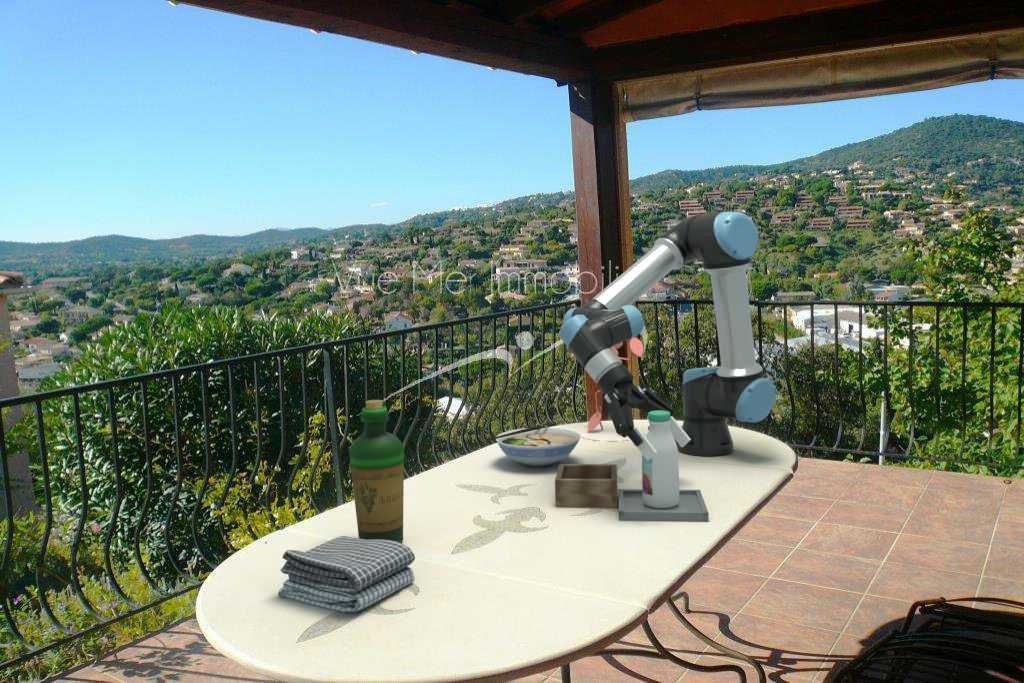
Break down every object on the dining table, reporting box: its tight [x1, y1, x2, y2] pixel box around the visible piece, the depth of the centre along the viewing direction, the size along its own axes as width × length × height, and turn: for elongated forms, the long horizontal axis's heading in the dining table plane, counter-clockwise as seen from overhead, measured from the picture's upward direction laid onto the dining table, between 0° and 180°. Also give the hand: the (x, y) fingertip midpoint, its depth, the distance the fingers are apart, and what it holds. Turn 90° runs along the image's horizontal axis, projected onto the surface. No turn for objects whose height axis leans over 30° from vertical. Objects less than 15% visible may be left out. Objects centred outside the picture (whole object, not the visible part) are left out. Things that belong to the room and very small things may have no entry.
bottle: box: [348, 399, 405, 543], centre depth 151 cm, size 11×11×28 cm
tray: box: [618, 488, 709, 522], centre depth 168 cm, size 18×16×2 cm
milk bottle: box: [641, 410, 680, 508], centre depth 166 cm, size 8×8×20 cm
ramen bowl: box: [486, 421, 581, 468], centre depth 208 cm, size 25×23×8 cm
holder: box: [554, 463, 618, 509], centre depth 176 cm, size 13×13×6 cm
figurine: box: [570, 336, 645, 443], centre depth 236 cm, size 15×26×35 cm, turn 53°
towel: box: [277, 535, 416, 614], centre depth 131 cm, size 15×18×8 cm
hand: (669, 449), depth 165 cm, fingers open, 13 cm apart
